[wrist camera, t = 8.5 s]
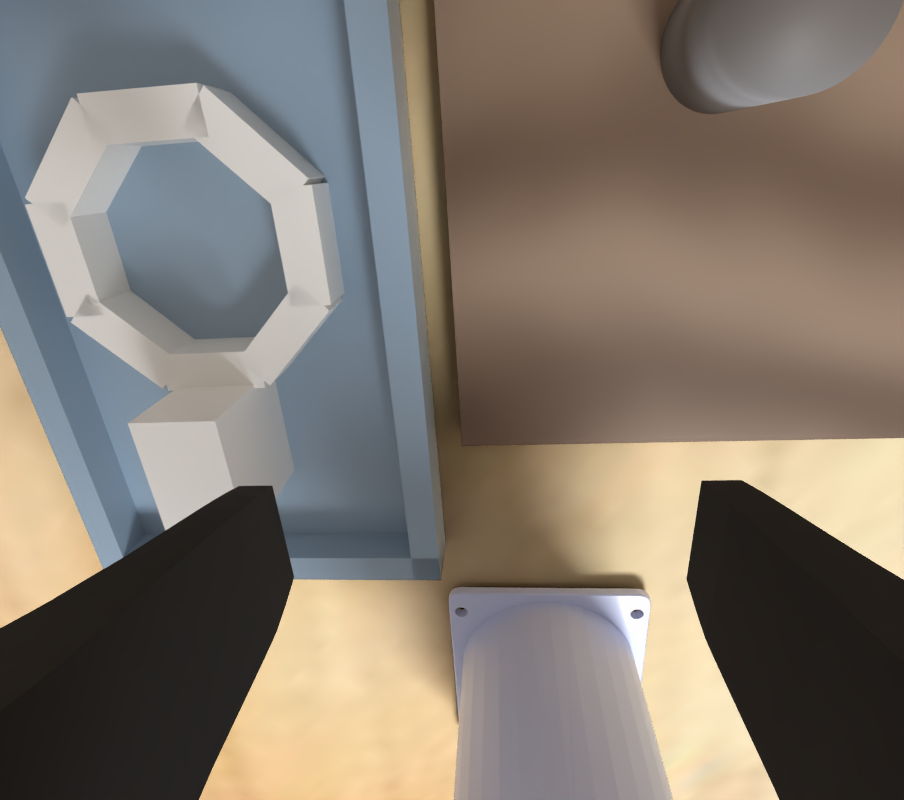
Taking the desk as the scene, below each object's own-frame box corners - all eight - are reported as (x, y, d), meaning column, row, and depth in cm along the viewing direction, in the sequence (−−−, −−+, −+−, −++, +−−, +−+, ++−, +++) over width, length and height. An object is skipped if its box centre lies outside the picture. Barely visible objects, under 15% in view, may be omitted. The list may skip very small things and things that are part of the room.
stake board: (884, 423, 18) (1018, 515, 13) (463, 432, 19) (453, 517, 14) (1090, -261, 11) (1503, -553, 7) (426, -174, 12) (386, -366, 8)
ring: (370, 468, 19) (341, 540, 16) (157, 471, 20) (81, 541, 16) (313, 82, 14) (250, 55, 11) (33, 107, 15) (-115, 89, 11)
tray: (445, 543, 21) (440, 580, 19) (138, 544, 22) (107, 578, 20) (389, -113, 13) (372, -157, 11) (-89, -55, 14) (-176, -86, 12)
